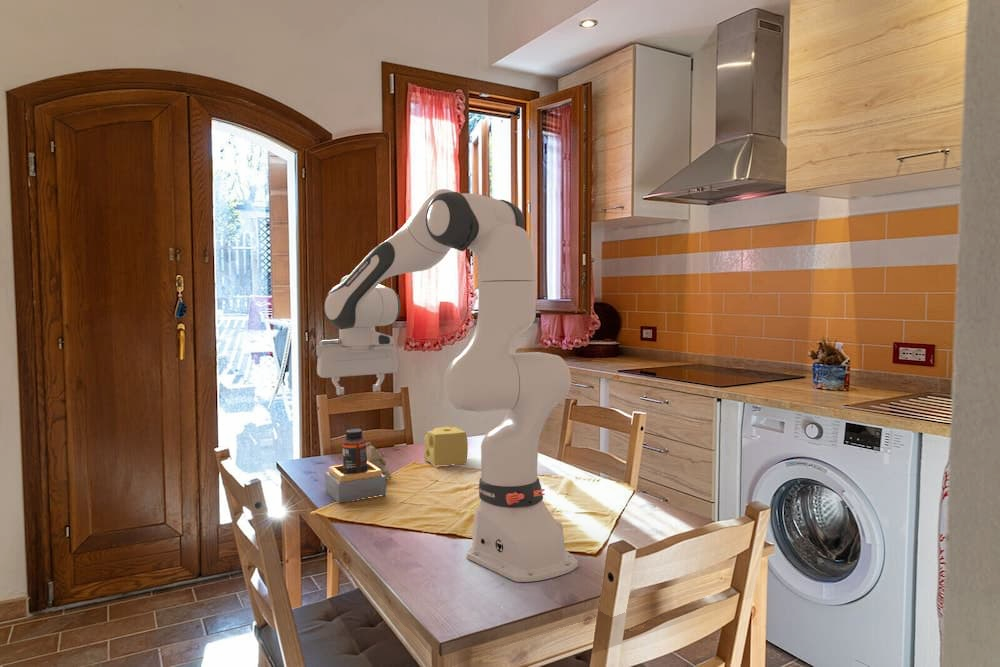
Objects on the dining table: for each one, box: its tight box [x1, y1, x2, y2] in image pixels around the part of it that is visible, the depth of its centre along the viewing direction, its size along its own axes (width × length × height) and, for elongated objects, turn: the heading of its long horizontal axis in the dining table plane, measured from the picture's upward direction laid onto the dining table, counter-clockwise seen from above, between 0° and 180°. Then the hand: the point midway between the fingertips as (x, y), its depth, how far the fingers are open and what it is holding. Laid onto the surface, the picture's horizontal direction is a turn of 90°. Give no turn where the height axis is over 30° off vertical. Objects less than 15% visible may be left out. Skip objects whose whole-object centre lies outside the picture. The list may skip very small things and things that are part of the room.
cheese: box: [423, 426, 469, 466], centre depth 197 cm, size 10×11×10 cm
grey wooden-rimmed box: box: [324, 461, 387, 504], centre depth 167 cm, size 12×12×6 cm
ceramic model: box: [366, 441, 391, 479], centre depth 182 cm, size 14×11×10 cm
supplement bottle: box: [342, 428, 367, 475], centre depth 166 cm, size 6×6×11 cm
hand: (358, 393), depth 165 cm, fingers open, 8 cm apart
